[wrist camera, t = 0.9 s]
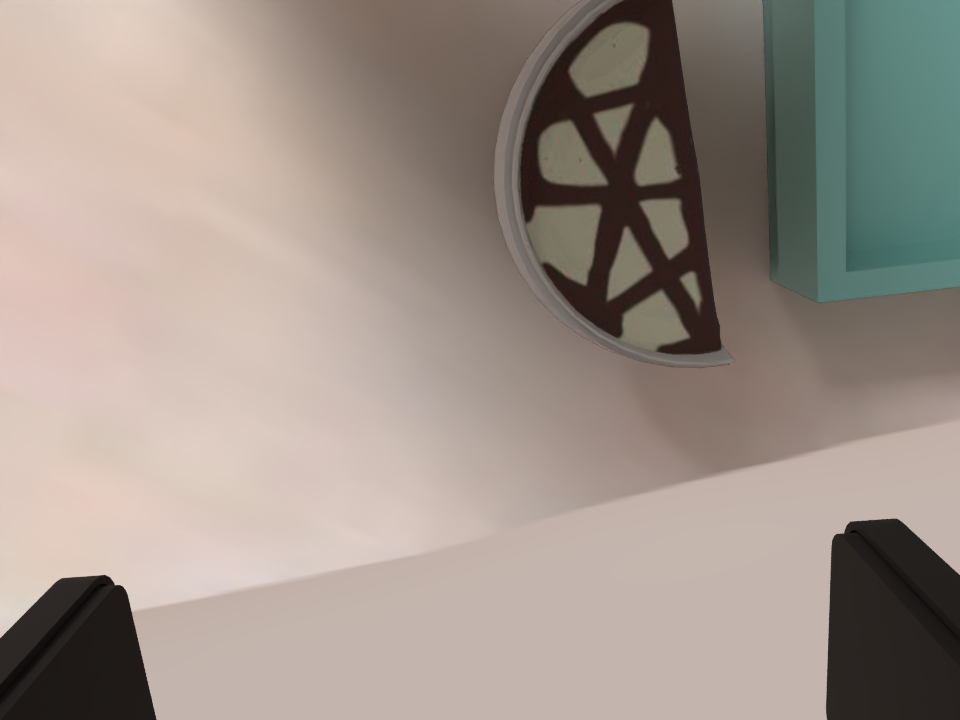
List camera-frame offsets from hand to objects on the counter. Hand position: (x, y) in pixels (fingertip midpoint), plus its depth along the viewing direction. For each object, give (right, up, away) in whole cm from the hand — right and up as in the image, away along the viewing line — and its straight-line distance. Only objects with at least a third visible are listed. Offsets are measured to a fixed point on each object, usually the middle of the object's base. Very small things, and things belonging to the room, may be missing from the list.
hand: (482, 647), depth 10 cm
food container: (+4, +11, +22) cm, 25 cm away
